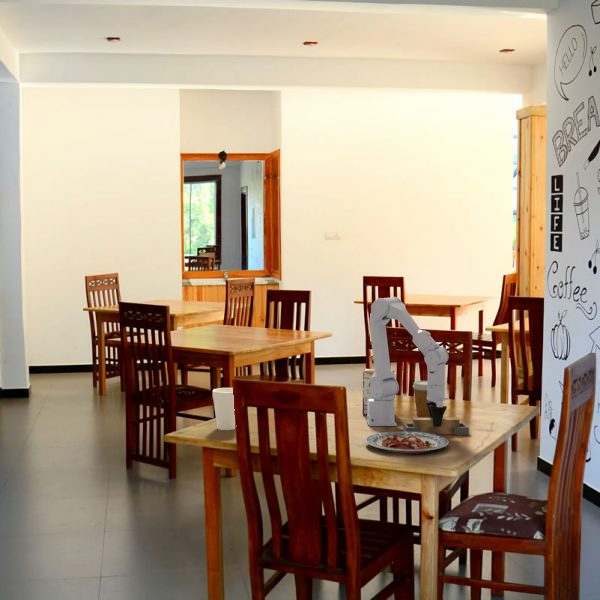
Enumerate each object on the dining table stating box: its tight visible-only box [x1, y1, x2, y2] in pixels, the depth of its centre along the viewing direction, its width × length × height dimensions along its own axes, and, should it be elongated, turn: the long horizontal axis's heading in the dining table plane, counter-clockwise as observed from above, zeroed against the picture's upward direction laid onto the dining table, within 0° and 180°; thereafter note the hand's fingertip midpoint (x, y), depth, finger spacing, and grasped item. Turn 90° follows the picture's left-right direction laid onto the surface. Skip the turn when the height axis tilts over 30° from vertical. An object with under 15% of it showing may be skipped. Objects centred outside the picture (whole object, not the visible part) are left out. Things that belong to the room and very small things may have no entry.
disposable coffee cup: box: [412, 380, 430, 418], centre depth 335 cm, size 10×10×12 cm
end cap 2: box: [453, 422, 470, 436], centre depth 307 cm, size 5×7×2 cm, turn 2°
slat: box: [412, 417, 461, 435], centre depth 306 cm, size 15×4×5 cm, turn 92°
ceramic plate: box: [365, 430, 449, 454], centre depth 287 cm, size 26×26×3 cm
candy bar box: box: [361, 368, 395, 416], centre depth 336 cm, size 11×5×16 cm, turn 80°
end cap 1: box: [402, 422, 421, 432], centre depth 306 cm, size 5×7×2 cm, turn 2°
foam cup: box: [212, 387, 236, 431], centre depth 313 cm, size 10×9×13 cm
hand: (435, 424), depth 306 cm, fingers open, 5 cm apart
